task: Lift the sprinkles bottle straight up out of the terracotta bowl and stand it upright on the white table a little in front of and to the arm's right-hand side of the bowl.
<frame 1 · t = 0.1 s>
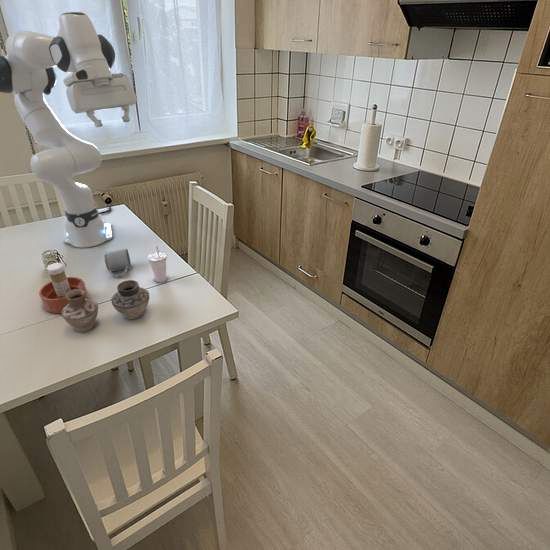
hand: (113, 124, 119), 52 cm above the table, tool tilted 20°, fingers open, 8 cm apart
pottery: (111, 319, 122), on the table
sprinkles bottle: (66, 301, 129), resting on bowl
smoothie: (161, 279, 141), on the table
bowl: (66, 301, 129), on the table
ceramic mug: (120, 271, 146), on the table
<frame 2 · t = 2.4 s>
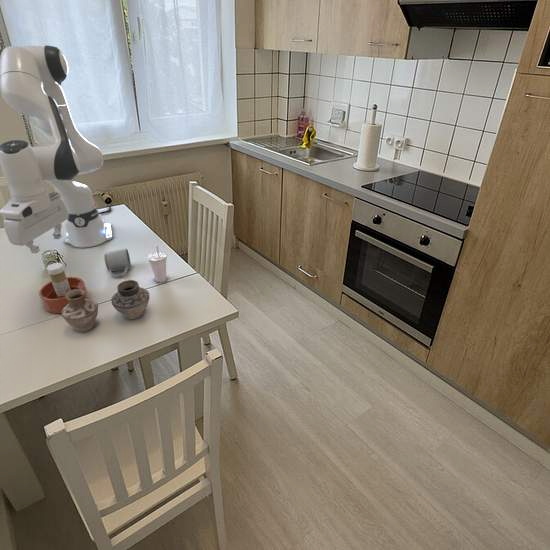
hand: (47, 245, 118), 21 cm above the table, tool pointing down, fingers open, 8 cm apart
nothing on the table moved.
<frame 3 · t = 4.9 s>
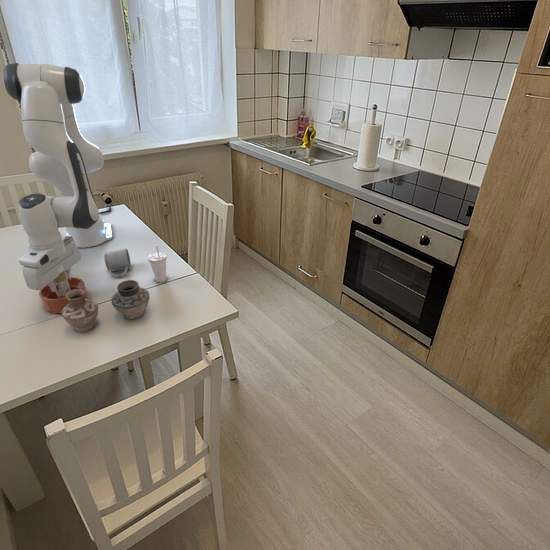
hand: (61, 285, 126), 6 cm above the table, tool pointing down, fingers closed on sprinkles bottle, 4 cm apart
sprinkles bottle: (66, 301, 129), resting on bowl, touching gripper
everything else where it was.
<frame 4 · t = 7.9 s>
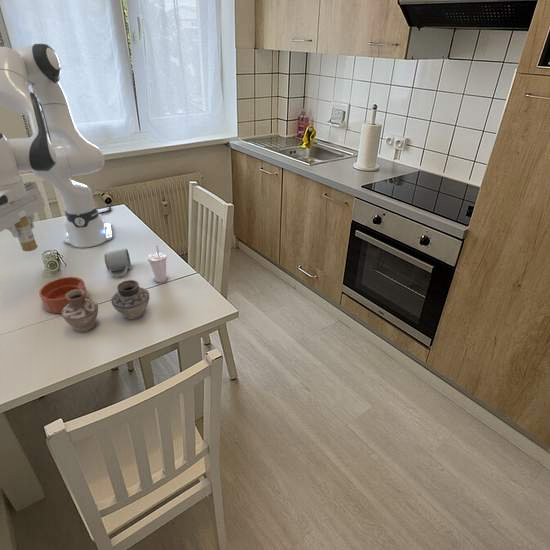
hand: (24, 232, 124), 22 cm above the table, tool pointing down, fingers closed on sprinkles bottle, 4 cm apart
sprinkles bottle: (30, 249, 127), point 16 cm above the table, touching gripper
everything else where it was.
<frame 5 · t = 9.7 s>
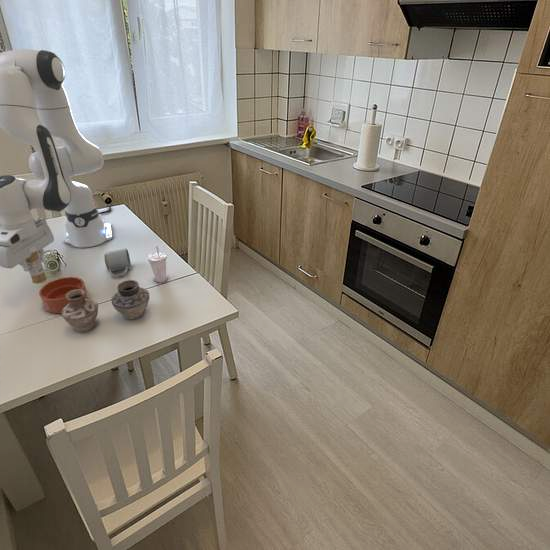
hand: (34, 266, 131), 9 cm above the table, tool pointing down, fingers closed on sprinkles bottle, 4 cm apart
sprinkles bottle: (40, 281, 134), point 3 cm above the table, touching gripper
everything else where it was.
when the fingers open (6 cm above the table, at t = 11.0 s): sprinkles bottle stays where it is, on the table.
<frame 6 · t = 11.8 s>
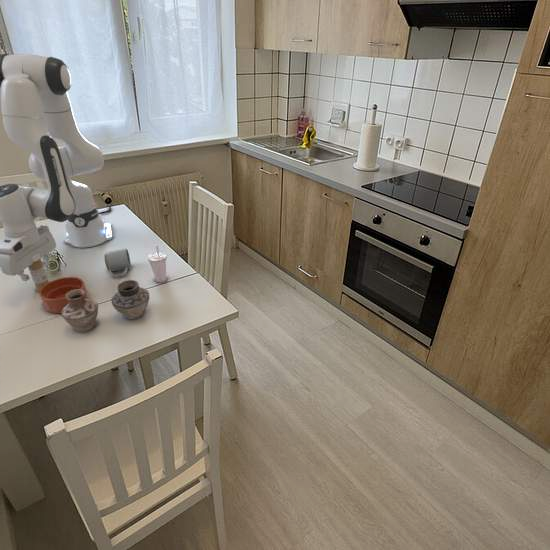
hand: (36, 272, 133), 6 cm above the table, tool pointing down, fingers open, 8 cm apart
sprinkles bottle: (43, 288, 136), on the table
everything else where it was.
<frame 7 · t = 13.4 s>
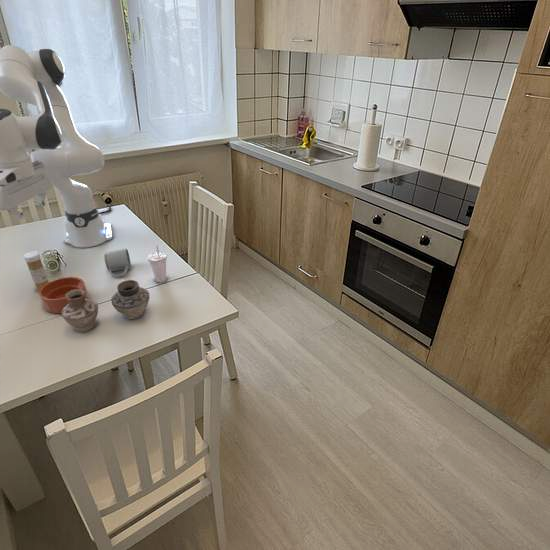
hand: (31, 212, 124), 27 cm above the table, tool pointing down, fingers open, 8 cm apart
nothing on the table moved.
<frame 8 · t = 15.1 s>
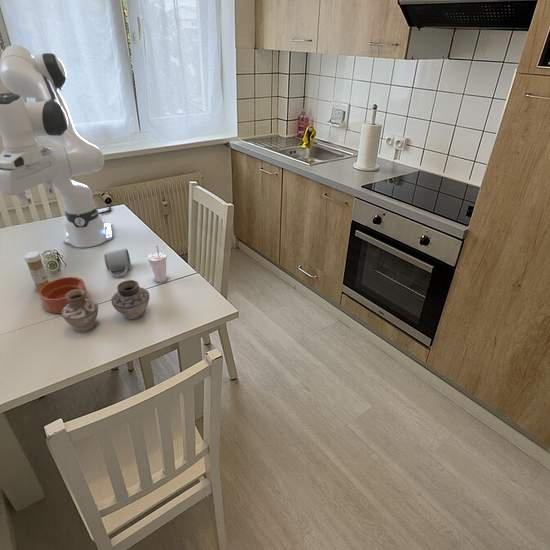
hand: (39, 198, 123), 31 cm above the table, tool pointing down, fingers open, 8 cm apart
nothing on the table moved.
at the end: sprinkles bottle inside the target area (0.4 cm from its centre), on the table; sprinkles bottle tilted 1°; sprinkles bottle touching table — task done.
